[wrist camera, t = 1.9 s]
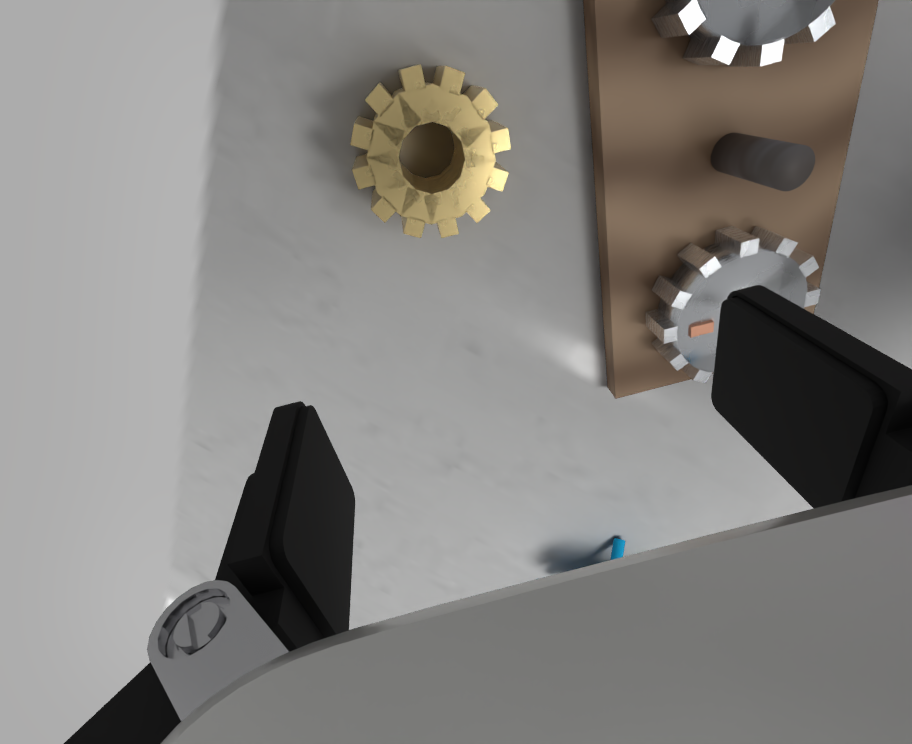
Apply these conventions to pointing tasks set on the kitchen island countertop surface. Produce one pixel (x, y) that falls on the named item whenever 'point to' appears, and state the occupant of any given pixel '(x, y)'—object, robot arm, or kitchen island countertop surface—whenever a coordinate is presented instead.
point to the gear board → (707, 157)
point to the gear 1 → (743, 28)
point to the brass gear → (469, 162)
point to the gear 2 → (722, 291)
